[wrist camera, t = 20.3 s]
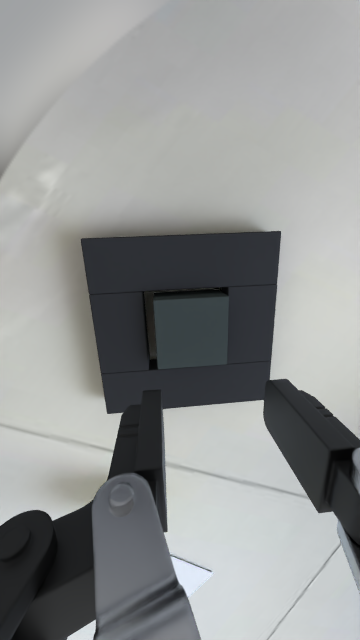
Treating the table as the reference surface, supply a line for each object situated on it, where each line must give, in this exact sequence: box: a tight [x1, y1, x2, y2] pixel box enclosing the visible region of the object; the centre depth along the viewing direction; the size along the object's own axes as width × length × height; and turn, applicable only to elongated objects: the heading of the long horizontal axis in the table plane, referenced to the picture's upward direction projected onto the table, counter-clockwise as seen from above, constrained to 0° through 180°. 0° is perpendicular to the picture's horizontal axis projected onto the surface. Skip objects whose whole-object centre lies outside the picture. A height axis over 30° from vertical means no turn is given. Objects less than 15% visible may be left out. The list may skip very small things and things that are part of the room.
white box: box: [171, 556, 214, 598], centre depth 29 cm, size 8×8×1 cm
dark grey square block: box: [153, 290, 229, 369], centre depth 19 cm, size 5×5×3 cm
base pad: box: [81, 231, 281, 414], centre depth 19 cm, size 14×14×2 cm
